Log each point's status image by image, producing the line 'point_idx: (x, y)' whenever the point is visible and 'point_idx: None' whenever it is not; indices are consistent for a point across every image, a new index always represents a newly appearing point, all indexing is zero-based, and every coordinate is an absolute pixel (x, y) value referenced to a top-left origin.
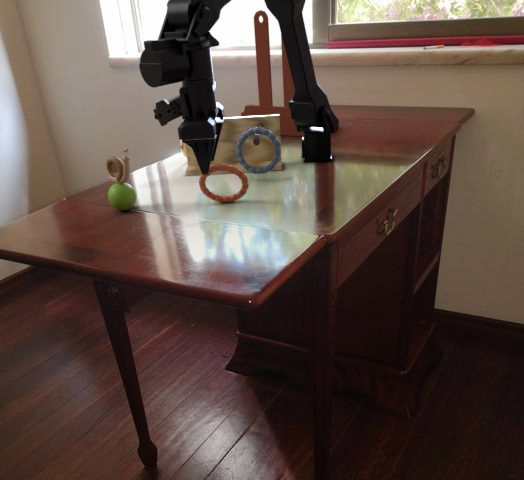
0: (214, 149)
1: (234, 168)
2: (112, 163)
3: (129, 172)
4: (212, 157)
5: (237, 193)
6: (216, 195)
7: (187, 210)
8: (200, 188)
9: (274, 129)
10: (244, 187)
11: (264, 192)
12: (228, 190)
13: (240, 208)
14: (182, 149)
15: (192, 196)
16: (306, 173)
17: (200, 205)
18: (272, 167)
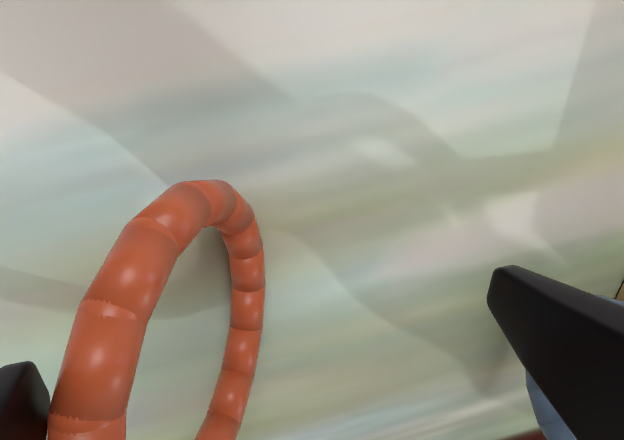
0: (556, 394)
1: None
2: None
3: None
4: (507, 319)
5: (236, 343)
6: (232, 237)
7: (80, 43)
8: (166, 190)
9: None
10: (205, 419)
11: (359, 364)
12: (430, 217)
13: (144, 338)
14: None
15: (382, 21)
16: (521, 418)
17: (193, 119)
18: (529, 394)
